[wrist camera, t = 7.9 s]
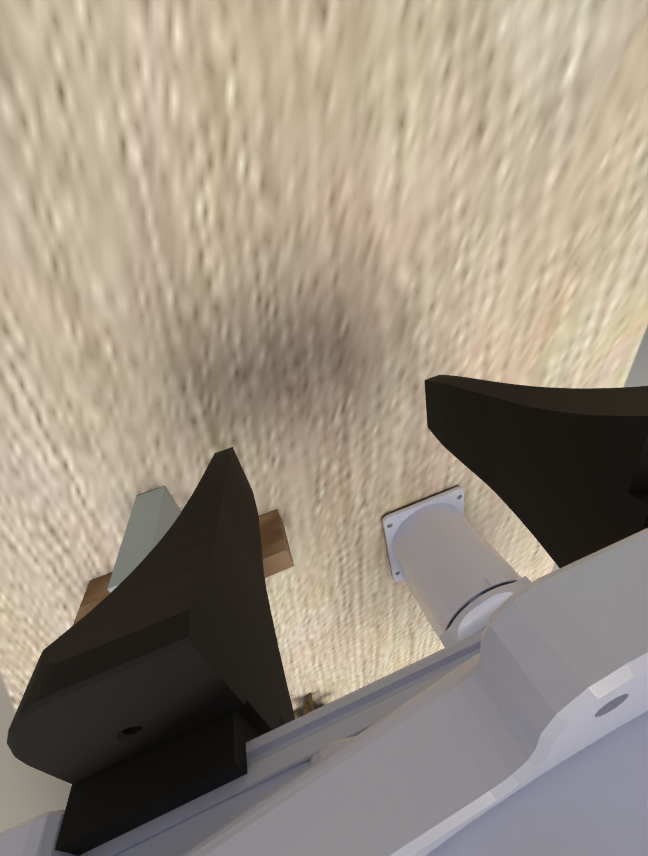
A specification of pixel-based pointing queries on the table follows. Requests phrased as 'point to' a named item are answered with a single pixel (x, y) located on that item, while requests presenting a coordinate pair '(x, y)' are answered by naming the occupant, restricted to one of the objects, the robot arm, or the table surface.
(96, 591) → the walnut rail
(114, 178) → the table surface
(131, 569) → the pale blue prism block
